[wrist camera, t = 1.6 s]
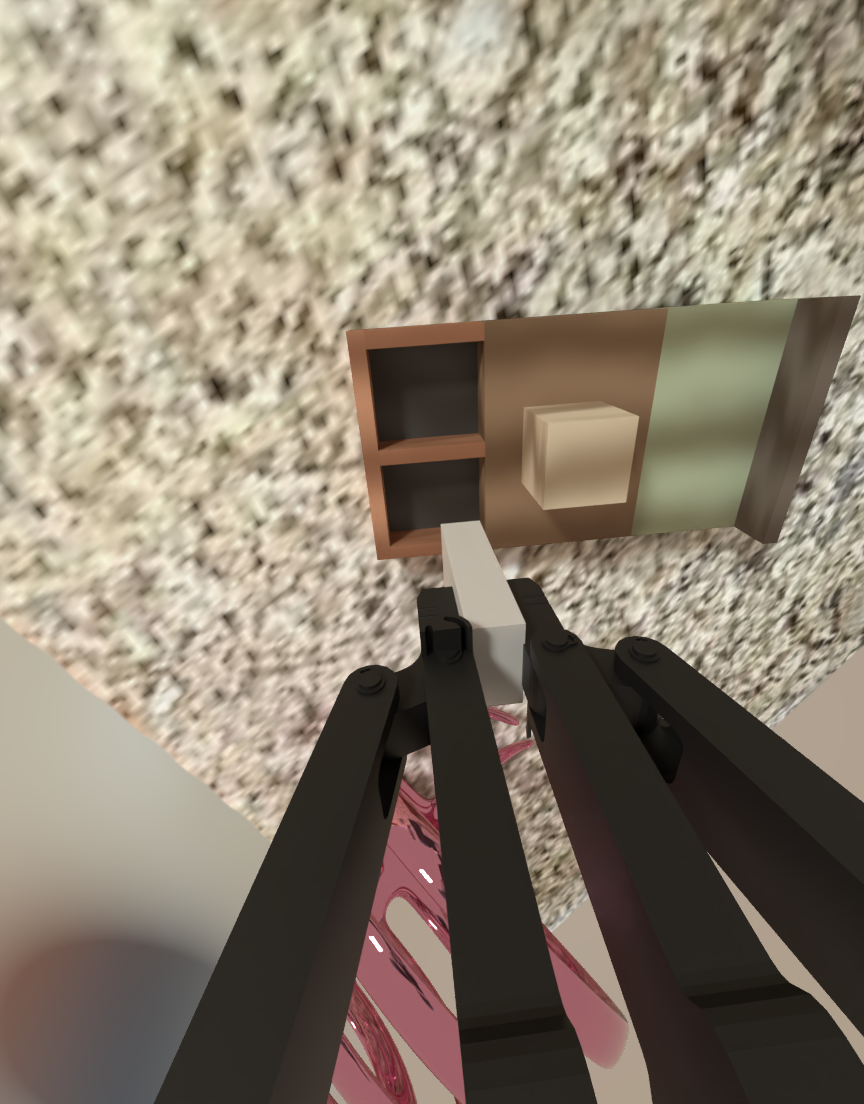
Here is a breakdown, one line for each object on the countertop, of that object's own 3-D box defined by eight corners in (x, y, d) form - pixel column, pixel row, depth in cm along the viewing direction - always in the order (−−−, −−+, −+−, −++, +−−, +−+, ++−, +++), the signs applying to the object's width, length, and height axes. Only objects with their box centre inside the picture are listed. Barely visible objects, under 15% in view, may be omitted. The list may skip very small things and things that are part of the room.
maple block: (523, 407, 28) (548, 423, 24) (600, 400, 28) (639, 416, 24) (521, 482, 31) (543, 509, 26) (592, 475, 31) (626, 502, 26)
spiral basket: (743, 806, 22) (326, 1652, 12) (699, 898, 40) (519, 1264, 31) (393, 588, 40) (119, 857, 31) (473, 719, 59) (317, 913, 49)
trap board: (350, 330, 28) (340, 333, 23) (775, 299, 29) (860, 295, 24) (378, 541, 35) (376, 581, 30) (720, 509, 36) (776, 542, 31)
